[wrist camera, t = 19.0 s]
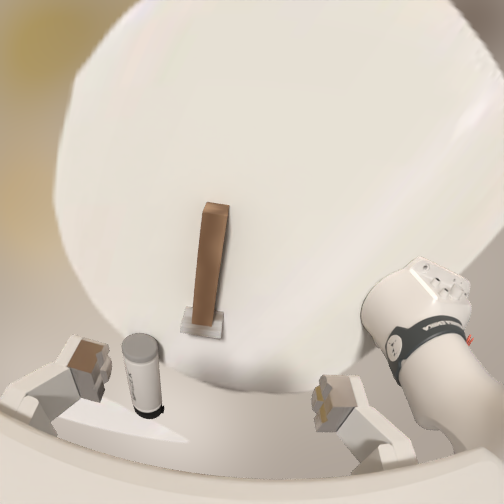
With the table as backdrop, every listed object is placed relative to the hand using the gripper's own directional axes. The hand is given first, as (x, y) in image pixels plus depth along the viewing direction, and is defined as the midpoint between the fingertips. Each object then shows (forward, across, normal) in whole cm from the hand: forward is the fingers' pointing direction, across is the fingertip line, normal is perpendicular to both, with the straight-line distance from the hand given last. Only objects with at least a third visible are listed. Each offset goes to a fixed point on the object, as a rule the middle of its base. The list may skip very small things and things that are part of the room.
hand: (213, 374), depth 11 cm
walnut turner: (+31, +2, +13) cm, 34 cm away
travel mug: (+28, +12, +29) cm, 42 cm away
